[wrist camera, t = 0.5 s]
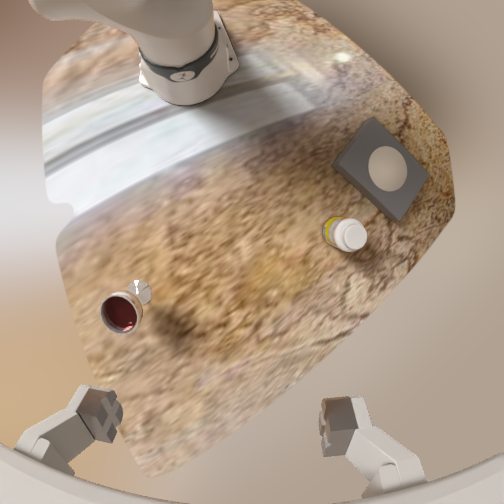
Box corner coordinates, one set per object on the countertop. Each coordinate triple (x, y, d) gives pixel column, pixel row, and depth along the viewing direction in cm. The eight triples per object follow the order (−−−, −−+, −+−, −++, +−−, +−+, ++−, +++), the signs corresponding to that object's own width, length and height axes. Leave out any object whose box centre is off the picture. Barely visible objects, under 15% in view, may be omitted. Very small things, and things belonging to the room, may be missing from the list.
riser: (331, 166, 54) (338, 163, 50) (364, 121, 53) (373, 116, 48) (389, 219, 56) (400, 221, 52) (418, 175, 55) (430, 174, 51)
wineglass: (154, 275, 55) (136, 294, 43) (157, 310, 56) (141, 336, 44) (121, 275, 54) (96, 293, 42) (124, 308, 55) (102, 333, 44)
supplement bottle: (354, 231, 56) (378, 238, 46) (333, 251, 56) (354, 262, 46) (336, 209, 55) (358, 211, 45) (314, 229, 55) (332, 236, 45)
